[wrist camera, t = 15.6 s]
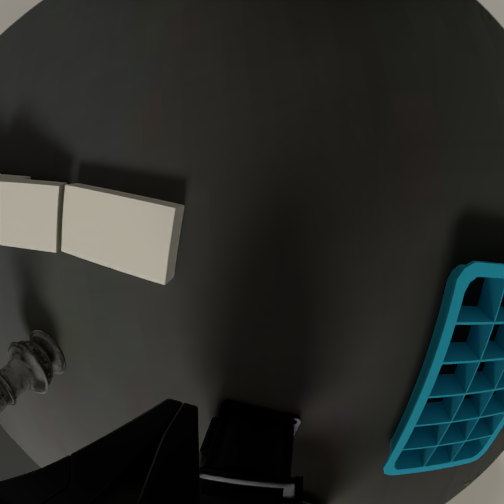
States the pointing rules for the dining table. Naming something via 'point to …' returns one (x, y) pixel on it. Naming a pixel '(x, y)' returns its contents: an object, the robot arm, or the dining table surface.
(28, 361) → the chess piece
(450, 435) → the ice cube tray
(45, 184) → the domino
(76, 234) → the domino
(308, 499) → the supplement container
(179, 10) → the dining table surface
